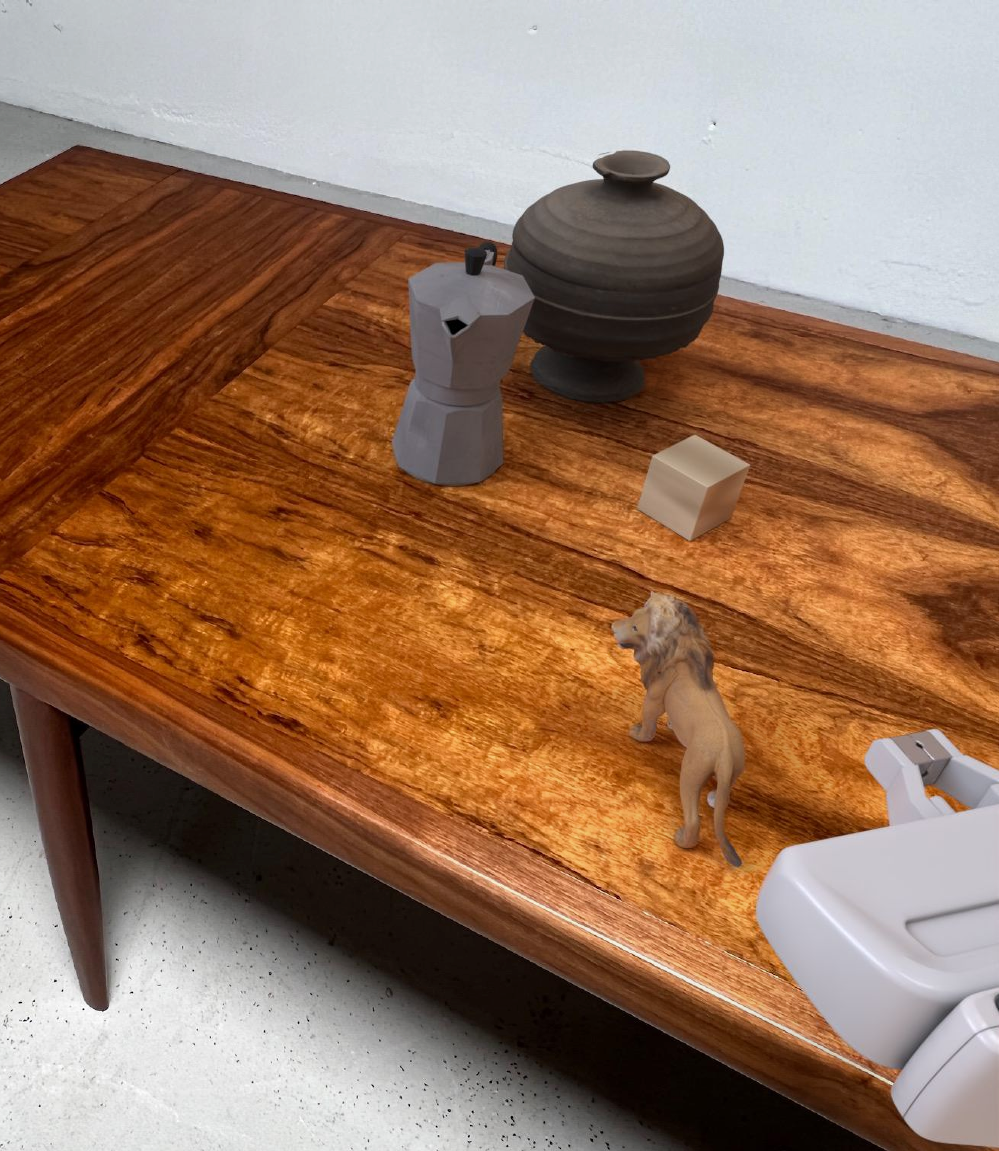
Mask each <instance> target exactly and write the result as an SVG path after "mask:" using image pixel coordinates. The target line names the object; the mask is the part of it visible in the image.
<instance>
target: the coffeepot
mask: <svg viewBox="0 0 999 1151" xmlns="http://www.w3.org/2000/svg"><path fill="white" fill-rule="evenodd" d="M463 253H464V262H463V261H461V262H459V261H458V262H434V263H433V264H431V265H429V266H428V267H426V268H424V269H422V270H421V271H419V272H417V273H415V274H413V275H412V276H410V277H408V278H407V282H408V301H409V303H408V304H409V324H410V326H409V328H410V347H411V359H412V363H413V366H414V369H415V371H414V372H415V373H414V377H413V379H412V380H411V381H410V383H409V384H408V385H409V386H408V387H407V388H408V389H407V392H406V395H405V398H404V402H403V404H402V408H401V411H400V415H399V417H398V421H397V424H396V427H395V431H394V434H393V436H392V440H391V445H392V448H393V456H394V459H395V461H396V464H397V466H398V468H400V469H401V470H402V471H404V472H405V473H407V474H408V475H410V476H411V477H413V478H415V479H417V480H420V481H422V482H425V483H429V484H432V485H437V486H444V487H445V486H446V487H462V486H469V485H474V484H475V485H476V484H478V483H481V482H483V481H485V480H487V479H488V478H490V477H492V475H494V473H496V471H497V470H498V468H499V467H501V466H502V465H503V464H504V427H503V426H504V421H503V397H502V396H503V395H502V392H501V389H500V388H501V380H502V379H503V378H505V376H507V375H508V374H509V372H510V369H511V366H512V364H513V361H514V358H515V355H516V353H517V349H518V347H519V344H520V341H521V338H522V335H523V334H524V333H523V330H524V327H525V324H526V321H527V318H528V316H529V313H530V310H531V307H532V304H533V302H534V300H535V297H534V295H533V293H532V291H531V290H530V288H529V286H528V284H527V282H526V281H525V279H524V277H523V276H522V275H519V274H516V273H513V272H510V271H507V270H505V269H504V268H501V267H499V266H496V264H497V260H498V249H497V245H496V244H495V243H493V242H492V241H485V242H481V243H480V244H479V245H478V247H468V248H466V249H465V250H464V252H463Z"/></svg>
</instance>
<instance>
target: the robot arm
mask: <svg viewBox="0 0 999 1151" xmlns="http://www.w3.org/2000/svg"><path fill="white" fill-rule="evenodd" d="M863 762H864V765H865V768H866V770H867V771H868V772H869V773H870V774H871V776H872V777H873V778H874V779H875V780H876V782H877V783H878V784H879V786H881V787H882V788H883V790H884V791H885V803H886V809H887V810H886V811H887V816H888V818H887V819H888V824H889V825H888V826H884V827H879V828H873V829H869V830H864V831H858V832H854V833H849V834H848V833H847V834H845V835H839V836H833V837H829V838H824V839H819V840H815V841H810V842H804V843H798V844H794V845H790V846H787V847H785V848H783V849H782V850H780V852H779V853H778V854H777V855H776V857H775V858H774V860H773V862H772V864H771V866H770V867H769V869H768V871H767V873H766V875H765V876H764V878H763V881H762V883H761V885H760V887H759V888H758V893H757V898H756V905H755V917H756V922H757V924H758V926H759V928H760V930H761V932H762V934H763V936H764V937H765V939H766V940H767V942H768V944H769V945H770V947H771V948H772V950H773V951H774V953H775V955H776V956H777V957H778V959H779V960H780V962H781V963H782V965H783V966H784V967H785V969H786V970H787V972H788V973H789V974H790V976H791V977H792V979H793V980H794V982H795V983H796V984H797V985H798V987H799V988H800V989H801V991H802V992H803V994H804V995H805V997H807V999H808V1000H809V1001H810V1003H811V1004H812V1005H813V1007H814V1008H815V1009H816V1011H817V1012H818V1013H819V1014H820V1015H821V1017H822V1018H823V1019H824V1020H825V1022H826V1023H827V1024H828V1025H829V1026H830V1028H831V1029H832V1030H833V1031H834V1032H835V1033H836V1035H837V1036H838V1037H839V1038H841V1040H843V1042H844V1043H845V1044H846V1045H847V1046H849V1047H850V1048H851V1049H852V1050H853V1051H855V1052H856V1053H858V1054H859V1055H860V1056H861V1057H864V1058H865V1059H867V1060H868V1061H870V1062H872V1063H874V1064H877V1065H879V1066H882V1067H884V1068H886V1069H887V1068H888V1069H893V1070H899V1071H900V1072H899V1074H898V1075H897V1077H896V1079H895V1080H894V1081H893V1084H892V1086H891V1088H890V1096H891V1100H892V1101H893V1104H894V1105H895V1108H896V1109H897V1111H898V1113H899V1114H900V1116H901V1117H902V1119H903V1120H904V1122H905V1123H906V1124H907V1125H908V1127H909V1128H910V1129H911V1130H912V1131H913V1132H914V1133H915V1134H917V1135H918V1136H919V1137H921V1138H923V1139H925V1140H928V1141H931V1142H935V1143H941V1144H942V1143H943V1144H950V1145H951V1144H952V1145H964V1146H976V1147H986V1148H997V1149H999V769H997V768H994V767H992V766H990V765H988V764H987V763H984V762H982V761H980V760H979V759H976V758H974V757H972V756H969V755H968V754H963V753H962V752H961V751H960V750H959V749H958V748H957V747H956V746H955V744H954V743H953V742H952V741H951V740H949V738H948V737H947V736H946V735H945V734H944V733H943V732H942V731H941V730H939V729H937V728H932V729H927V730H921V731H914V732H909V733H905V734H901V735H895V736H890V737H884V738H879V739H874V740H873V741H872V743H871V744H870V746H869V748H868V749H867V751H866V753H865V754H864V758H863ZM928 786H933V787H935V788H937V790H939V791H941V792H943V793H945V795H948V796H949V797H951V798H953V799H954V800H956V801H957V802H959V803H960V804H962V805H964V806H965V807H967V808H968V809H967V810H961V811H958V812H956V811H955V810H954V809H953V807H951V806H950V804H949V803H948V802H947V801H946V800H945V799H944V797H942V796H940V795H934V796H933V795H932V796H930V797H929V798H928V796H927V793H926V789H925V787H928Z"/></svg>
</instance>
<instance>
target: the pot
mask: <svg viewBox="0 0 999 1151" xmlns="http://www.w3.org/2000/svg"><path fill="white" fill-rule="evenodd" d="M609 153H610V151H607V152H603V153H600V154H598V156H601V155H604V156H602V157H599V158H597V159H595V160H594V161H593V162H592V169H593V170H594V171H595V172H596V173H597V174H598V175H599V176H602V178H598V179H595V178H594V179H587V180H583V181H578V182H575V183H570V184H567V185H563V186H560V187H558V188H555V189H554V190H552V191H551V192H549V193H547V194H545V195H543V196H542V197H540V198H538V200H536V201H535V202H534V203H532V204H530V206H528V207H527V208H526V209H525V211H524V212H523V213H522V215H520V217H519V218H518V219H517V220H516V222H515V224H514V227H513V230H512V234H511V235H512V237H511V238H512V239H511V240H512V241H511V246H510V249H508V251H506V254H505V256H504V260H503V269H505V270H507V271H510V272H513V273H516V274H519V275H522V276H523V277H524V279H525V281H526V282H527V284H528V286H529V288H530V290H531V291H532V293H533V295H534V297H535V300H534V302H533V304H532V307H531V310H530V313H529V316H528V318H527V321H526V324H525V327H524V330H523V333H522V334H524V336H525V337H527V338H529V339H532V341H534V343H535V344H540V345H542V347H540V348H539V350H538V351H537V352H536V353H535V354H534V356H532V359H531V361H530V375H531V376H532V378H533V380H534V381H537V383H538V384H539V386H542V387H543V388H545V389H546V390H548V391H550V392H551V393H554V394H557V395H558V396H561V397H564V398H566V399H570V400H572V401H573V400H576V401H579V402H583V403H584V402H585V403H596V404H607V403H617V402H621V401H626V400H628V399H631V398H633V397H635V396H637V395H638V394H640V393H641V392H642V391H643V390H644V388H645V381H646V373H645V371H644V368H643V365H642V364H641V363H640V362H639V361H644V360H649V359H656V358H660V357H662V356H667V355H671V354H672V353H675V352H677V351H680V349H683V348H687V347H688V346H689V345H690V344H691V343H693V342H695V341H696V340H697V339H698V338H699V336H700V334H701V333H702V331H703V328H704V326H705V325H706V323H707V322H709V320H710V318H711V317H712V315H713V312H714V305H715V300H716V298H717V297H718V294H719V290H720V282H721V277H722V271H723V260H724V257H725V246H724V239H723V236H722V234H721V233H720V231H719V229H718V227H717V225H716V223H715V222H714V220H713V219H711V217H710V216H709V214H708V213H707V212H706V211H705V210H704V209H703V208H702V207H701V206H699V205H698V204H697V202H695V201H694V200H693V199H692V198H691V197H689V196H687V195H685V194H683V193H682V192H679V191H677V190H675V189H674V188H671V187H669V186H667V185H665V184H661V183H658V182H655V181H657V180H659V179H663V178H664V177H666V176H668V175H669V172H670V170H671V164H670V161H668V159H666V158H664V157H663V156H661V155H658V154H656V153H652V152H647V151H641V150H632V149H631V150H629V149H627V150H626V149H623V150H616V151H615V152H614V153H611V154H609ZM638 360H639V361H638Z"/></svg>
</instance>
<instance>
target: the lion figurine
mask: <svg viewBox="0 0 999 1151" xmlns="http://www.w3.org/2000/svg"><path fill="white" fill-rule="evenodd" d="M611 631H612V632H613V635H614V639H615V640H616V642H617V647H618V648H619V649H622V650H633V656H632V657H633V660H634V661H635V662H636V663H638V665H639V667H640V672H639V674H640V682H642V685H643V687H644V689H645V691H646V692H645V695H644V699H643V703H642V709H641V710H642V711H641V712H642V713H641V714H642V721H641V723H638V722H636V723H634V724H633V725H631V726H630V727H629V731H628V735H629V737H631V738H632V739H633V740H636V741H638V742H642V743H643V742H650V741H652V740H653V739H654V737H655V735H656V732H657V728H658V720H659V718H660V717H662V716H663V715H664V714H665V713H666V716H667V719H666V724H667V727H668V728H669V729H670V730H671V731H673V733H674V734H675V737H676V738H677V740H678V741H679V742H680V744H681V745H682V746H683V747H684V748H686V749H685V751H684V755H683V758H682V759H681V760H682V761H681V767H680V774H679V796H680V801H681V802H680V803H681V808H682V812H683V820H684V826H680V827H679V828H678V829H677V830H676V831H675V834H674V835H673V840H674V842H675V844H677V846H679V847H680V848H683V849H691V848H694V847H696V846H697V844H698V843H699V840H700V839H699V838H700V833H701V826H702V825H701V818H700V813H699V803H700V799H701V795H702V790H703V788H704V787H705V786H706V784H707V783H708V782H709V781H710V779H711V778H713V777H715V779H716V780H717V781H716V782H717V785H716V790H711V791H709V792H708V794H707V797H706V800H707V803H708V805H709V807H711V808H712V809H714V810H713V828H714V833H715V838H716V840H717V842H718V845H719V846H720V850H721V852H722V855H723V858H724V860H725V861H726V862H728V863H729V864H730V865H731V866H733V867H734V868H741V867H742V864H743V861H742V859H741V858H740V856H739V854H738V852H737V851H736V849H735V847H734V846H733V845H732V843H731V842H730V841H729V840H728V837H727V835H726V830H725V812H726V809H727V808H728V806H729V803H730V802H731V798H730V796H731V795H730V794H731V793H732V790H733V787H734V785H735V784H736V781H737V779H739V777H740V776H741V775H742V774H743V773H744V770H745V766H746V749H745V744H744V740H743V735H742V732H741V730H740V728H739V727H738V725H737V724H735V722H734V720H733V719H732V718H731V717H730V714H729V712H728V710H727V707H726V705H725V703H724V700H723V698H722V696H721V694H720V691H719V689H718V687H717V685H716V683H715V680H714V673H713V672H714V671H713V670H714V666H715V658H714V656H715V654H714V652H713V649H712V647H711V646H710V640H709V639H708V637H707V635H706V633H705V632H704V627H703V626H702V624H700V623H699V621H698V619H697V614H696V613H695V612H694V611H693V610H691V608H690V607H689V605H688V604H687V603H686V602H685V601H683V600H681V599H678V598H676V596H675V595H674V594H668V593H667V594H663V593H661V592H654V591H652V590H650V597H649V598H648V600H647V601H646V602H645V604H643V607H641V608H637V609H635V611H634V612H633V613H632V616H630V617H626V618H624V619H621V620H620V619H619V620H615V621H613V622H612V623H611Z"/></svg>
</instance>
